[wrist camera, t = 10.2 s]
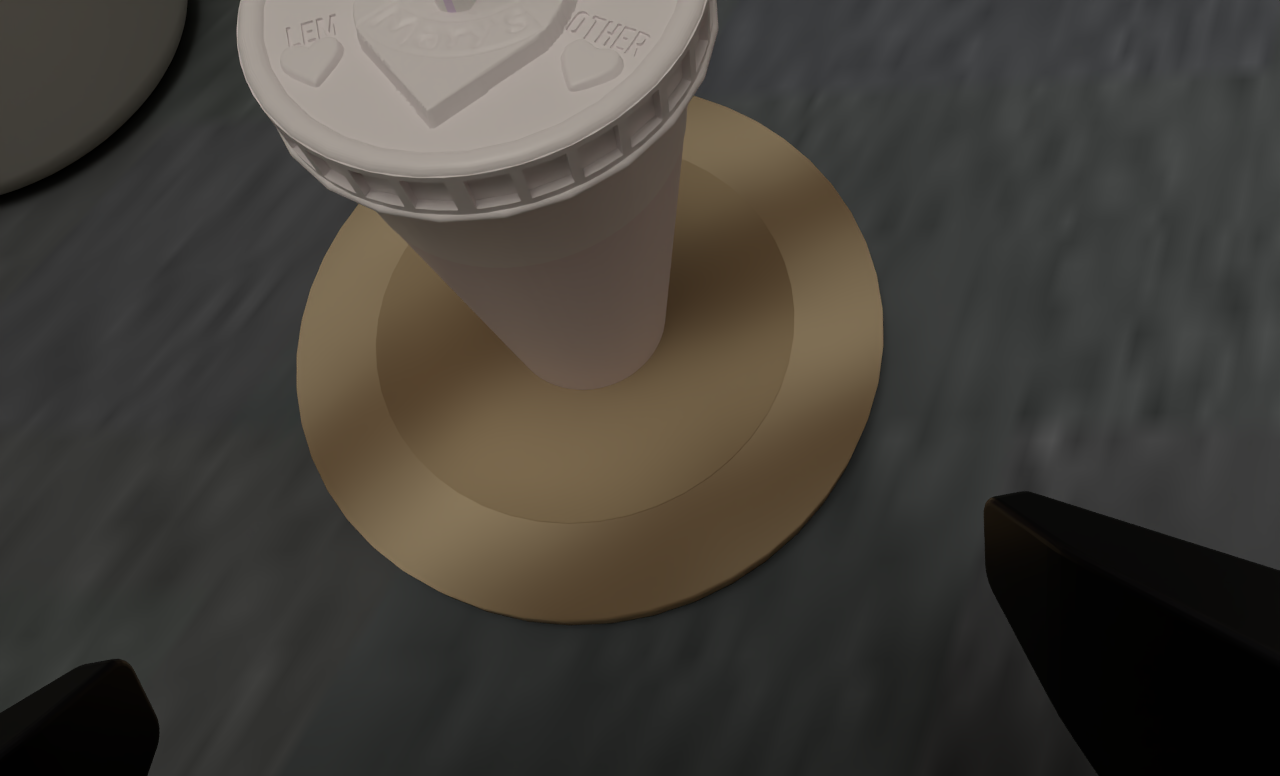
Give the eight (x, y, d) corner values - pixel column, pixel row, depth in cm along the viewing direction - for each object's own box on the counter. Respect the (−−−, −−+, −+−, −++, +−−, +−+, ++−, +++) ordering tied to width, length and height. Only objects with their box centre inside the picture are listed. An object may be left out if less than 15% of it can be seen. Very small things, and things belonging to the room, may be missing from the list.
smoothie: (430, 434, 19) (-227, -210, 6) (482, 198, 21) (96, -629, 8) (712, 457, 18) (664, -244, 5) (733, 208, 20) (739, -701, 7)
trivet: (1005, 377, 19) (1019, 358, 18) (499, 765, 17) (485, 767, 16) (649, 32, 24) (646, 2, 23) (228, 297, 22) (204, 277, 21)
